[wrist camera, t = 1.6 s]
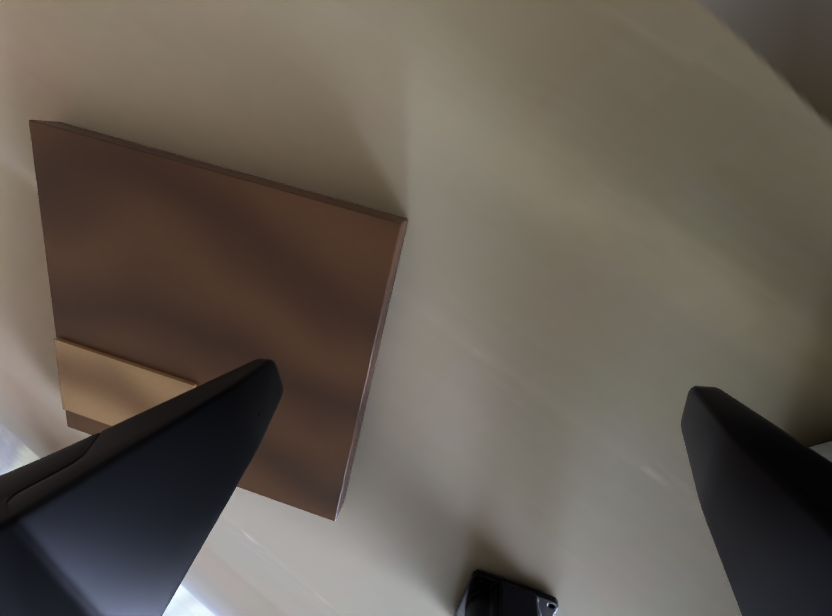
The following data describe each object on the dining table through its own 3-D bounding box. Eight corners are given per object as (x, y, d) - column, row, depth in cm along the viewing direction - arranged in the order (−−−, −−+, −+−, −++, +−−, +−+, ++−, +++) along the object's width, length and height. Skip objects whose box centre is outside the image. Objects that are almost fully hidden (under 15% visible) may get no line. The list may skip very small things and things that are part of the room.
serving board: (344, 502, 30) (333, 525, 29) (89, 413, 32) (63, 429, 31) (408, 218, 22) (400, 224, 20) (60, 121, 24) (22, 118, 22)
